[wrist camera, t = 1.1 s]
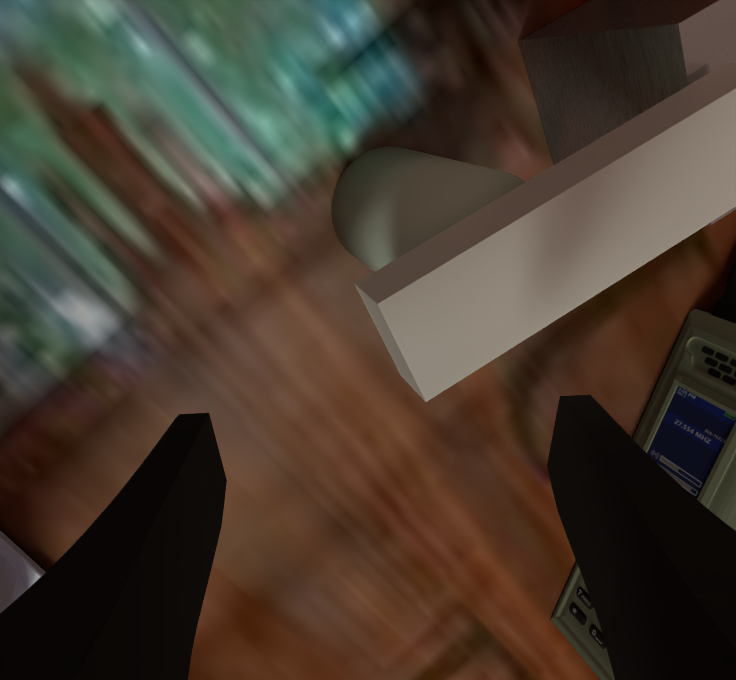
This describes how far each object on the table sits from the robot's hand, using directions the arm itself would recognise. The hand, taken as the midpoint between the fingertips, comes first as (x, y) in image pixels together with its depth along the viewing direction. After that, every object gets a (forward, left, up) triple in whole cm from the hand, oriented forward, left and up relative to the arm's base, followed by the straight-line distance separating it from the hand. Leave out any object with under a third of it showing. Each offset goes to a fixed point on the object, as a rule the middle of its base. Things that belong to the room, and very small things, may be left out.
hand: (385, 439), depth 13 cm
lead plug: (+5, 0, -11) cm, 12 cm away
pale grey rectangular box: (+7, 0, -3) cm, 8 cm away
